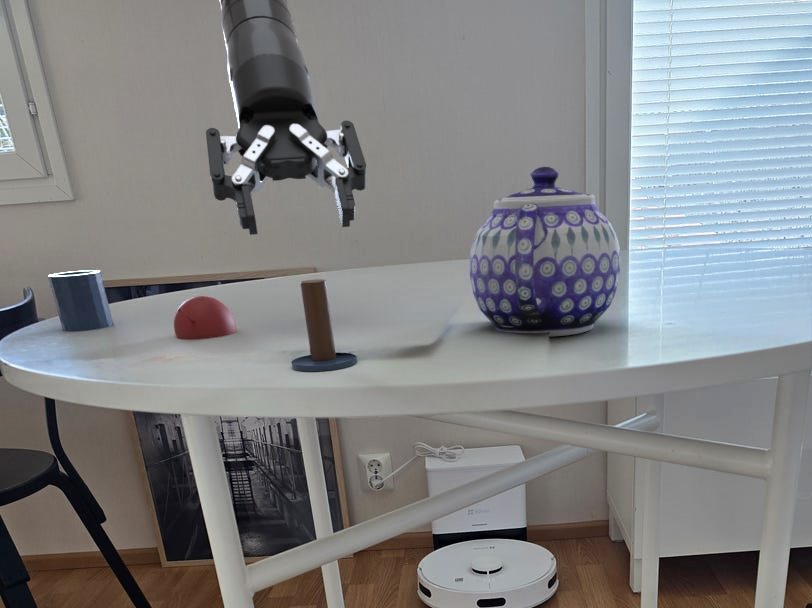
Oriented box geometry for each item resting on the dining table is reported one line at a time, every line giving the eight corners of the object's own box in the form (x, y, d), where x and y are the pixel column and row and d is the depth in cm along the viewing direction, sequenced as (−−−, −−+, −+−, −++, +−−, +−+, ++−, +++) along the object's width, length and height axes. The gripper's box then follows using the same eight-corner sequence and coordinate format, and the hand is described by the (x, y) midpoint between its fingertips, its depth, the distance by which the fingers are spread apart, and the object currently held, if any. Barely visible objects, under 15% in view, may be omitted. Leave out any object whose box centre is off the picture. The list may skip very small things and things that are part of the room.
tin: (58, 348, 97) (38, 277, 93) (82, 340, 101) (63, 271, 98) (103, 346, 96) (85, 275, 92) (125, 338, 101) (108, 269, 97)
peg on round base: (285, 379, 75) (270, 287, 71) (303, 365, 80) (289, 278, 76) (349, 377, 74) (338, 283, 71) (363, 363, 79) (353, 275, 76)
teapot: (601, 353, 77) (604, 164, 70) (440, 354, 81) (427, 175, 74) (632, 309, 98) (636, 160, 91) (503, 311, 102) (497, 168, 95)
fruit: (180, 375, 89) (147, 311, 82) (192, 338, 92) (162, 273, 85) (236, 373, 89) (208, 308, 82) (247, 336, 91) (221, 270, 85)
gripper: (344, 117, 87) (375, 247, 83) (201, 125, 85) (226, 260, 80) (344, 48, 80) (377, 186, 76) (188, 53, 77) (214, 198, 73)
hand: (299, 224), depth 78 cm, fingers open, 8 cm apart
